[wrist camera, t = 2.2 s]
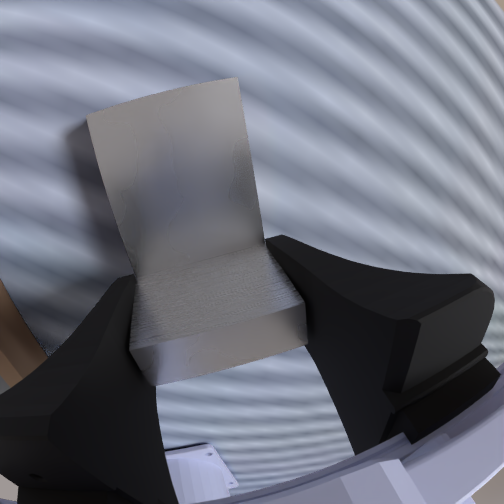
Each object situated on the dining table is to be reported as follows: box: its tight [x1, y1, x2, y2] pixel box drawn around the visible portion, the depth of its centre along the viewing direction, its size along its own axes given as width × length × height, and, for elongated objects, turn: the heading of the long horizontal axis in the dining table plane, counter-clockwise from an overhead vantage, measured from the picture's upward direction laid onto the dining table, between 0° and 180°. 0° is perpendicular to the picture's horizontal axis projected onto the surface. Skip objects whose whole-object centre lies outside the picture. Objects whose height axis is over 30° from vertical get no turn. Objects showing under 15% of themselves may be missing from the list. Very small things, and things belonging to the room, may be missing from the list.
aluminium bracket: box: [86, 77, 308, 387], centre depth 8 cm, size 7×4×5 cm, turn 9°
